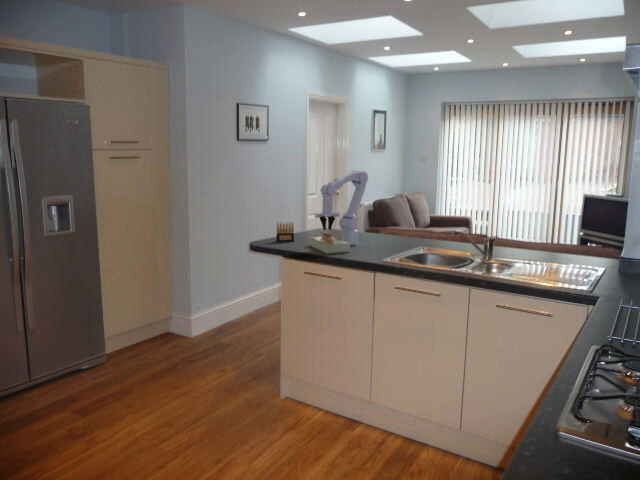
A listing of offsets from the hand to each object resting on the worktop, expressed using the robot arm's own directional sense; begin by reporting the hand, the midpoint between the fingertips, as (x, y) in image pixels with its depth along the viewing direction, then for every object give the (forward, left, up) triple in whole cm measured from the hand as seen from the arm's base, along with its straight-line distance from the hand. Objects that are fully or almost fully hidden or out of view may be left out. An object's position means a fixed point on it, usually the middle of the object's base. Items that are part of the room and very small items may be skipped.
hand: (327, 229), depth 296 cm
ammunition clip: (+16, -25, -11) cm, 32 cm away
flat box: (0, +4, -10) cm, 11 cm away
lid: (0, 0, -6) cm, 6 cm away
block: (+6, +14, -5) cm, 16 cm away
